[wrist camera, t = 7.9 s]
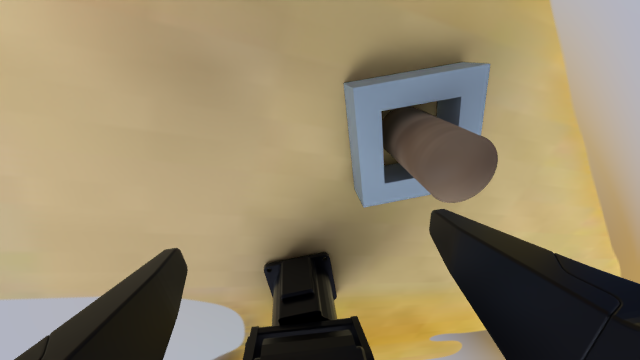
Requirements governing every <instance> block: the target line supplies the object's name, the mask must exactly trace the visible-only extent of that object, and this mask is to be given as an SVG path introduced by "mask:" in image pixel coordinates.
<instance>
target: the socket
mask: <svg viewBox="0 0 640 360" xmlns="http://www.w3.org/2000/svg"><path fill="white" fill-rule="evenodd" d="M489 70H490V64H486V63H468V62H460V63H455V64H449V65H443V66H438V67H432V68H426V69H421V70H415V71H409V72H404V73H398V74H392V75H387V76H381V77H375V78H369V79H364V80H358V81H352V82H347V83H344V92H345V101H346V111H347V121H348V130H349V140H350V149H351V159H352V169H353V178H354V188H355V191H356V193H357V195H358V197H359V199H360V201H361V203H362V205H363V207H369V206H374V205H379V204H384V203H389V202H394V201H399V200H405V199H410V198H415V197H420V196H425V195H430V193H429V192H428V191H427V190H426V189H425V188H424V187H423V186H422V185H421V184H420V183H419V182H418V181H417V180H416V179H415V178H414V177H413V176H412V175H411V174H410V173H409V172H408V171H407V170H406V169H405V168H404V167H403V166H402V165H400V164H399V163H397V164H392V165H386V166H384V159H383V136H382V113H381V111H384V110H390V109H395V108H401V107H406V106H412V105H417V104H423V103H429V102H434V101H438V102H437V117H438V118H440V119H443V120H445V121H447V122H450V123H452V124H454V125H457V126H459V127H461V128H464V129H466V130H468V131H471V132H473V133H476V134H478V135H480V136H481V130H482V122H483V115H484V108H485V100H486V93H487V85H488V78H489Z"/></svg>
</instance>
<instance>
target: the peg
mask: <svg viewBox="0 0 640 360" xmlns="http://www.w3.org/2000/svg"><path fill="white" fill-rule="evenodd" d="M382 136H383V148H384V149H385V150H386V151H387V152H388V153H389V154H390V155H391V156H392V157H393V158H394V159H395V160H396V161H397V162H398V163H399V164H400V165H402V166H403V167H404V168H405V169H406V170H407V171H408V172H409V173H410V174H411V175H412V176H413V177H414V178H415V179H416V180H417V181H418V182H419V183H420V184H421V185H422V186H423V187H424V188H425V189H426V190H427V191H428V192H429V193H430V194H431V195H432V196H433V197H435V198H436V199H438V200H440V201H442V202H447V203H456V202H461V201H464V200H467V199H469V198H471V197H473V196H475V195H476V194H478V193H479V192H480V191H481V190H483V189H484V188H485V187H486V185H487V184H488V183H489V182H490V180H491V179H492V177H493V175H494V173H495V170H496V167H497V162H498V155H497V151H496V148H495V146H494V145H493V144H492V142H491V141H489V140H488V139H487V138H485V137H483V136H480V135H478V134H476V133H473V132H471V131H468V130H466V129H464V128H461V127H459V126H457V125H454V124H452V123H450V122H447V121H445V120H443V119H440V118H438V117H436V116H433V115H431V114H428V113H426V112H424V111H421V110H419V109H417V108H414V107H411V106H406V107H401V108H396V109H394V110H393V111H391V112H390V113H389V114H387V116H386V117H385V118H384V119H383V121H382Z"/></svg>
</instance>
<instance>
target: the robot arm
mask: <svg viewBox="0 0 640 360" xmlns="http://www.w3.org/2000/svg"><path fill="white" fill-rule="evenodd" d="M429 231H430V235H431V237H432V239H433V241H434V243H435V245H436V247H437V249H438V251H439V253H440V255H441V257H442V259H443V261H444V263H445V265H446V267H447V269H448V270H449V272H450V274H451V275H452V277H453V278H454V280H455V282H456V283H457V285H458V286H459V288H460V289H461V291H462V292H463V294H464V295H465V297H466V299H467V300H468V302H469V303H470V305H471V306H472V308H473V309H474V311H475V312H476V314H477V316H478V317H479V319H480V320H481V322H482V323H483V325H484V326H485V328H486V329H487V331H488V332H489V334H490V336H491V337H492V339H493V340H494V342H495V343H496V345H497V346H498V348H499V350H500V351H501V353H502V354H503V355H504V357H505V359H506V360H640V284H638V283H635V282H633V281H630V280H627V279H624V278H621V277H618V276H615V275H613V274H610V273H607V272H604V271H601V270H598V269H596V268H593V267H590V266H588V265H585V264H582V263H580V262H577V261H575V260H572V259H569V258H567V257H564V256H562V255H559V254H557V253H553V252H552V251H549V250H547V249H544V248H541V247H539V246H536V245H534V244H531V243H529V242H526V241H524V240H521V239H519V238H516V237H514V236H511V235H509V234H506V233H503V232H501V231H498V230H496V229H493V228H491V227H488V226H486V225H483V224H481V223H478V222H476V221H473V220H471V219H468V218H466V217H463V216H460V215H458V214H455V213H453V212H450V211H448V210H445V209H439V210H433V211H432V213H431V219H430V227H429ZM324 257H326V258H324ZM268 268H270V269H268ZM264 273H265V276H266V279H267V282H268V285H269V287H270V290H271V293H272V296H273V314H272V326H269V327H259V326H257V327H252V329H251V333H250V337H248V339H247V342H246V345H245V352H244V357H243V360H374V357H373V354H372V351H371V349H370V346H369V344H368V342H367V339H366V337H365V334H364V332H363V329H362V327H361V325H360V322H359V320H358V317H357V316H353V317H350V318H345V319H337V315H336V310H335V305H334V300H335V299H336V298H337V296H336V290H335V284H334V279H333V273H332V268H331V262H330V257H329V254H328V253H326V252H325V253H319V254H314V255H309V256H304V257H299V258H294V259H289V260H284V261H279V262H274V263H269V264H266V265H265V266H264ZM186 276H187V265H186V262H185V260H184V258H183V255H182V253H181V251H180V249H178V248H172V249H166V250H164V251H163V252H161V253H160V254H158V255H157V256H156V257H154V258H153V259H152V260H150V261H149V262H147V263H146V264H145V265H143V266H142V267H141V268H139V269H138V270H137V271H135V272H134V273H132V274H131V275H130V276H128V277H127V278H126V279H124V280H123V281H121V282H120V283H119V284H117V285H116V286H115V287H113V288H112V289H111V290H109V291H108V292H106V293H105V294H104V295H102V296H101V297H100V298H98V299H97V300H95V301H94V302H93V303H91V304H90V305H89V306H87V307H86V308H85V309H83V310H82V311H80V312H79V313H78V314H76V315H75V316H74V317H72V318H71V319H70V320H68V321H67V322H65V323H64V324H63V325H61V326H60V327H59V328H57V329H56V330H54V331H53V332H52V333H51V334H50V336H49V335H48V336H46V337H45V338H43V339H42V340H41V341H39V342H38V343H37V344H35V345H34V346H32V347H31V348H30V349H28V350H27V351H26V352H24V353H23V354H21V355H20V356H18V357H17V358H16V359H14V360H163V358H164V355H165V352H166V348H167V346H168V343H169V340H170V337H171V334H172V331H173V328H174V325H175V322H176V319H177V315H178V312H179V308H180V303H181V299H182V294H183V289H184V285H185V280H186Z"/></svg>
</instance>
